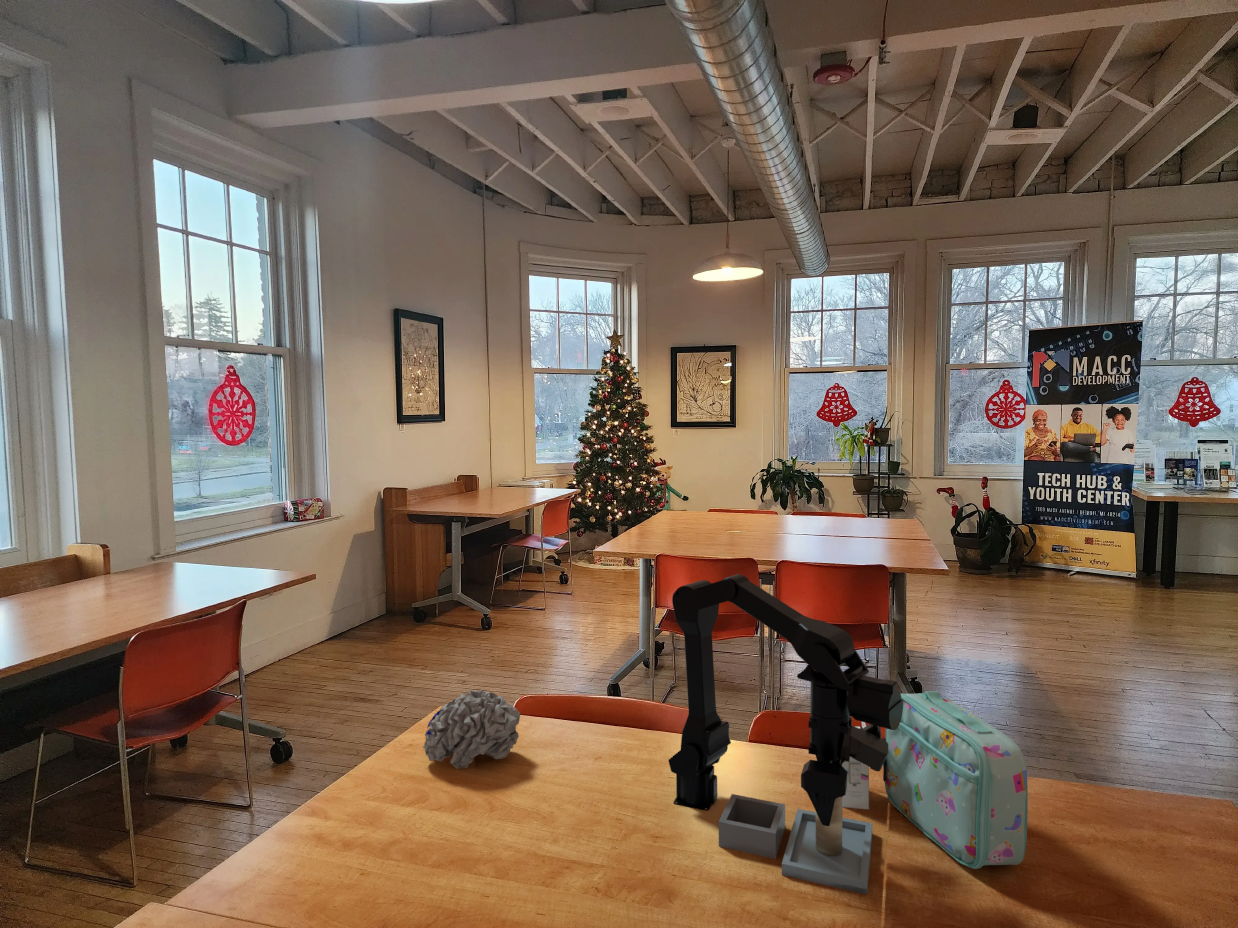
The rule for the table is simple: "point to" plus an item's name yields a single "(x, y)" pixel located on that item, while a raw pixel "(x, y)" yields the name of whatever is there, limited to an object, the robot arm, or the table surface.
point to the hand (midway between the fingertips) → (829, 809)
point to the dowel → (830, 832)
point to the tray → (829, 870)
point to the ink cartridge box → (856, 783)
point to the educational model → (472, 729)
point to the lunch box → (958, 781)
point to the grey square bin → (752, 826)
